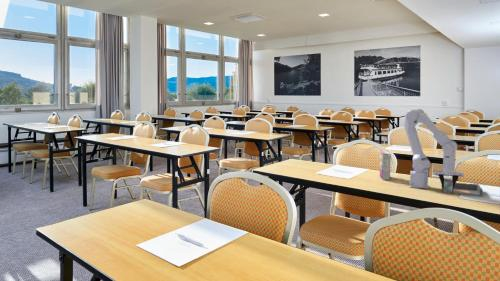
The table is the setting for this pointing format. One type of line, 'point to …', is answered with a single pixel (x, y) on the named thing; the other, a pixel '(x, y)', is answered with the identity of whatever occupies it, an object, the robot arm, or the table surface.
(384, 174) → the candy bar box
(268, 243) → the table surface
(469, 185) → the tray
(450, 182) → the blue block
